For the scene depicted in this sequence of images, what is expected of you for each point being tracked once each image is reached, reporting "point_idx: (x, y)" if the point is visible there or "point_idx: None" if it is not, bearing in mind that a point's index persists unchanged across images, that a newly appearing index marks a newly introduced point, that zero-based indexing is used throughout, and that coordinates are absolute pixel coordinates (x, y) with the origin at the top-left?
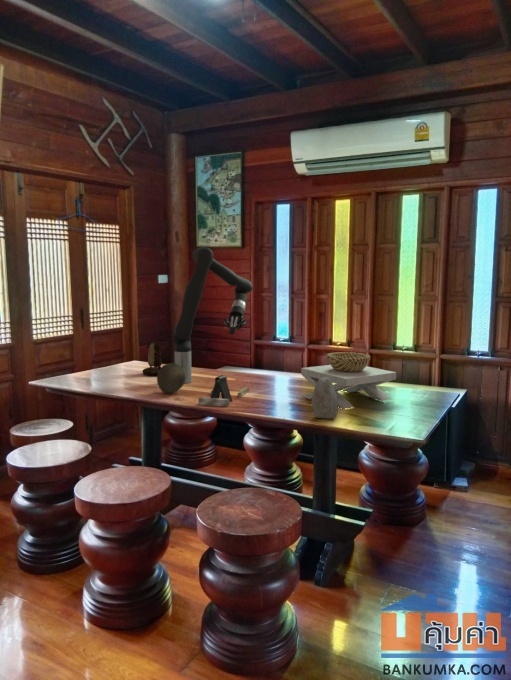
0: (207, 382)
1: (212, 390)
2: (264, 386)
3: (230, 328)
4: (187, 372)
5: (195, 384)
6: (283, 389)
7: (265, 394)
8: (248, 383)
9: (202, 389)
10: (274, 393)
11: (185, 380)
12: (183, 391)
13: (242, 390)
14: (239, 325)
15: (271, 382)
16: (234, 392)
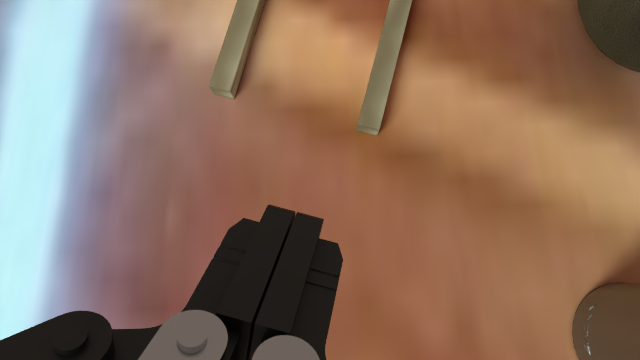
0: (466, 326)
1: (406, 3)
2: (117, 218)
3: (315, 329)
4: (634, 302)
5: (530, 260)
6: (20, 142)
7: (134, 24)
8: None
9: (468, 126)
10: (85, 47)
11: (609, 288)
12: (561, 75)
13: (247, 8)
14: (14, 340)
15: None
16: (292, 62)
